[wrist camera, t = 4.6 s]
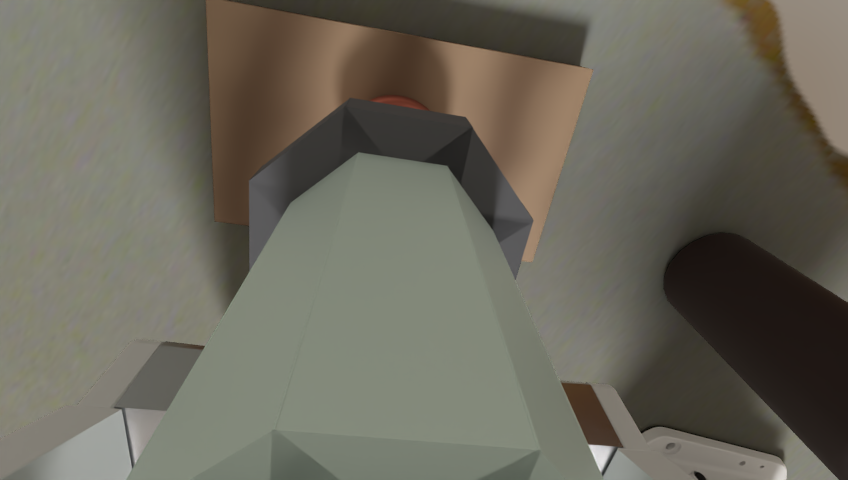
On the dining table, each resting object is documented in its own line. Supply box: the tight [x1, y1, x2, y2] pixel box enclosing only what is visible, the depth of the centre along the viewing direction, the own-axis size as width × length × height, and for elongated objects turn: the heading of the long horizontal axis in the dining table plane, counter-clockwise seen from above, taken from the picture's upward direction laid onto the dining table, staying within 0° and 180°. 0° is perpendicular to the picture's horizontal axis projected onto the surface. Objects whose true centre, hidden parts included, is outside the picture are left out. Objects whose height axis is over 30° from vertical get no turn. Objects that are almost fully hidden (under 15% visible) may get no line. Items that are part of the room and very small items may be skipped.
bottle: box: [664, 233, 848, 480], centre depth 24 cm, size 7×7×20 cm
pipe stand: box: [206, 0, 593, 262], centre depth 20 cm, size 20×12×16 cm, turn 80°
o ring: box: [249, 98, 534, 280], centre depth 15 cm, size 9×9×2 cm
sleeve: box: [126, 152, 604, 480], centre depth 10 cm, size 6×6×10 cm
